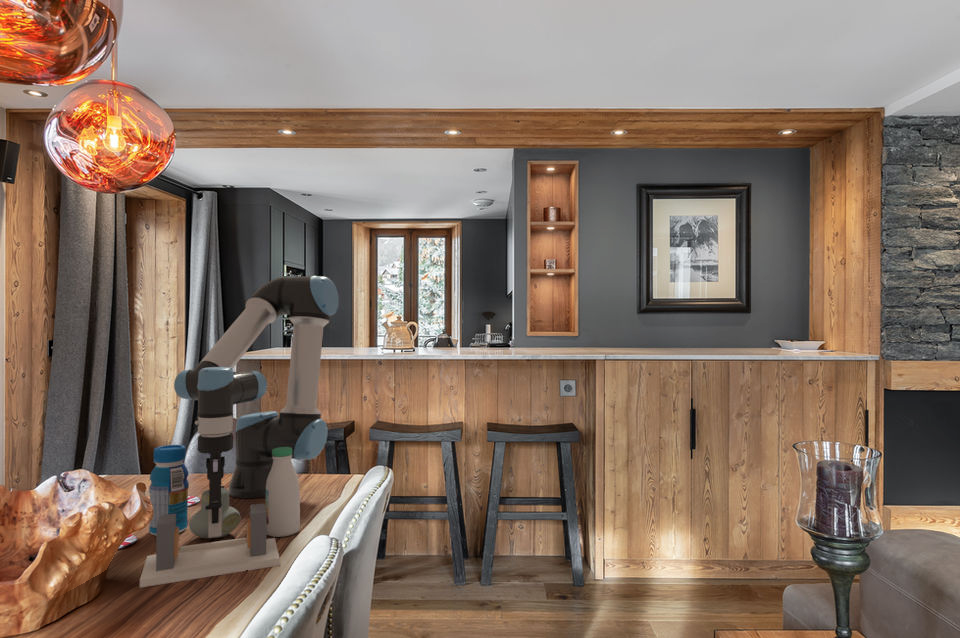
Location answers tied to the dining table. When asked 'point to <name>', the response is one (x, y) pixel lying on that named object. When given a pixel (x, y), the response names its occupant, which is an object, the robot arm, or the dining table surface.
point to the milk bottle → (282, 495)
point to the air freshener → (229, 516)
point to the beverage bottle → (169, 486)
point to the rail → (208, 552)
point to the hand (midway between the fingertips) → (215, 527)
